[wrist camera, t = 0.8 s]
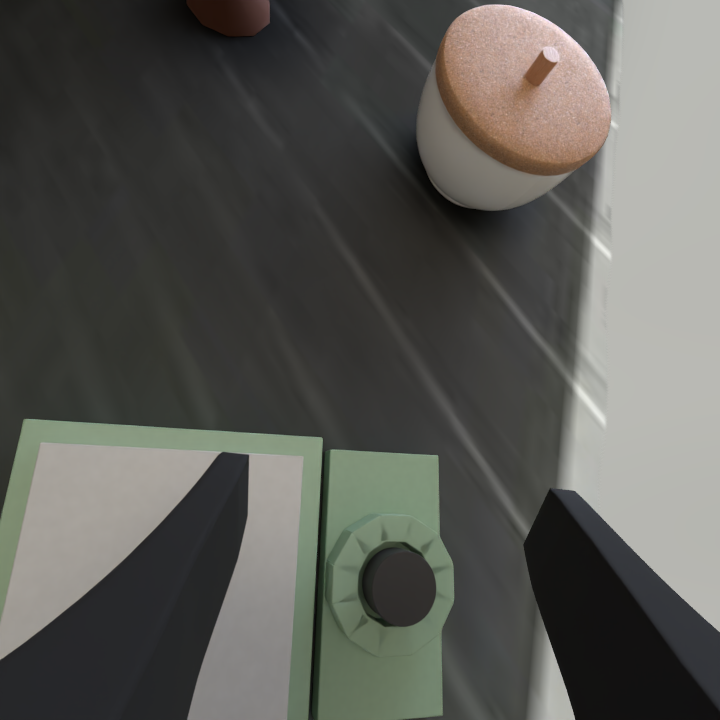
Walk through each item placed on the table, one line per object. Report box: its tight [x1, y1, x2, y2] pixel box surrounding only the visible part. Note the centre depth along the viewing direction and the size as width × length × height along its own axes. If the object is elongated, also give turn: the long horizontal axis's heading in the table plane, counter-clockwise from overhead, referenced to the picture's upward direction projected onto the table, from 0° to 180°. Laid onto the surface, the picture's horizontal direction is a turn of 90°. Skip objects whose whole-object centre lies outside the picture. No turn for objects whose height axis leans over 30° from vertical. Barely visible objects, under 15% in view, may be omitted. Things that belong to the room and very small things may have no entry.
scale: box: [0, 419, 323, 720], centre depth 20 cm, size 13×13×3 cm
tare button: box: [362, 547, 436, 627], centre depth 21 cm, size 3×3×2 cm
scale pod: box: [312, 449, 454, 720], centre depth 23 cm, size 12×6×3 cm, turn 179°
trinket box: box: [416, 5, 611, 211], centre depth 28 cm, size 11×11×9 cm
